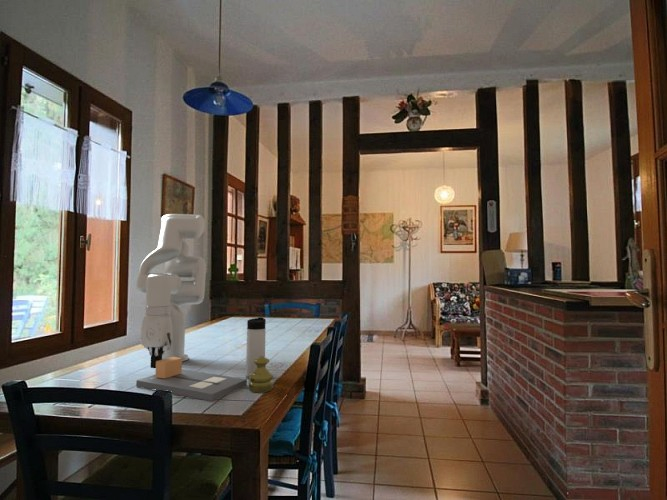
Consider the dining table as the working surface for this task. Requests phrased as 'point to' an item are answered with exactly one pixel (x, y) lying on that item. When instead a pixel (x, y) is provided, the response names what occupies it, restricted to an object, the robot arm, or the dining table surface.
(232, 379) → the fader console
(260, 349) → the travel mug
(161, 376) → the fader knob
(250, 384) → the olive metallic turned piece
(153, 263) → the robot arm
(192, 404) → the dining table surface
